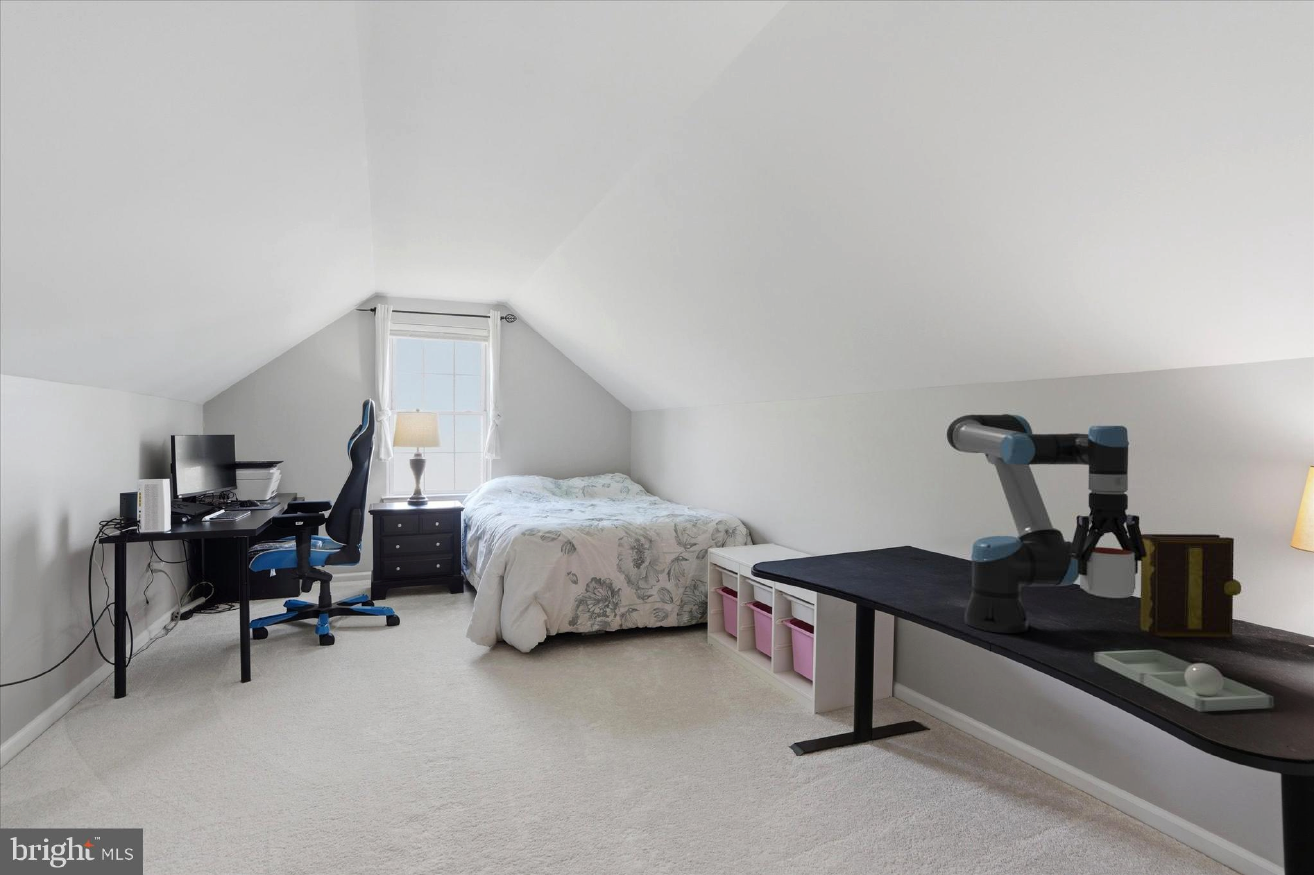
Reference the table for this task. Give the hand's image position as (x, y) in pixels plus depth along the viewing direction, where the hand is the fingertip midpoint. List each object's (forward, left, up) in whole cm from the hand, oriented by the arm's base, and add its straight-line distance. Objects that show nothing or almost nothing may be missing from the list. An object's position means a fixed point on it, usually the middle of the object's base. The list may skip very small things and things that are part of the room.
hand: (1107, 588), depth 154 cm
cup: (0, 0, -2) cm, 2 cm away
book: (-14, +34, -16) cm, 40 cm away
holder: (+18, 0, -16) cm, 24 cm away
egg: (+25, 0, -15) cm, 29 cm away
